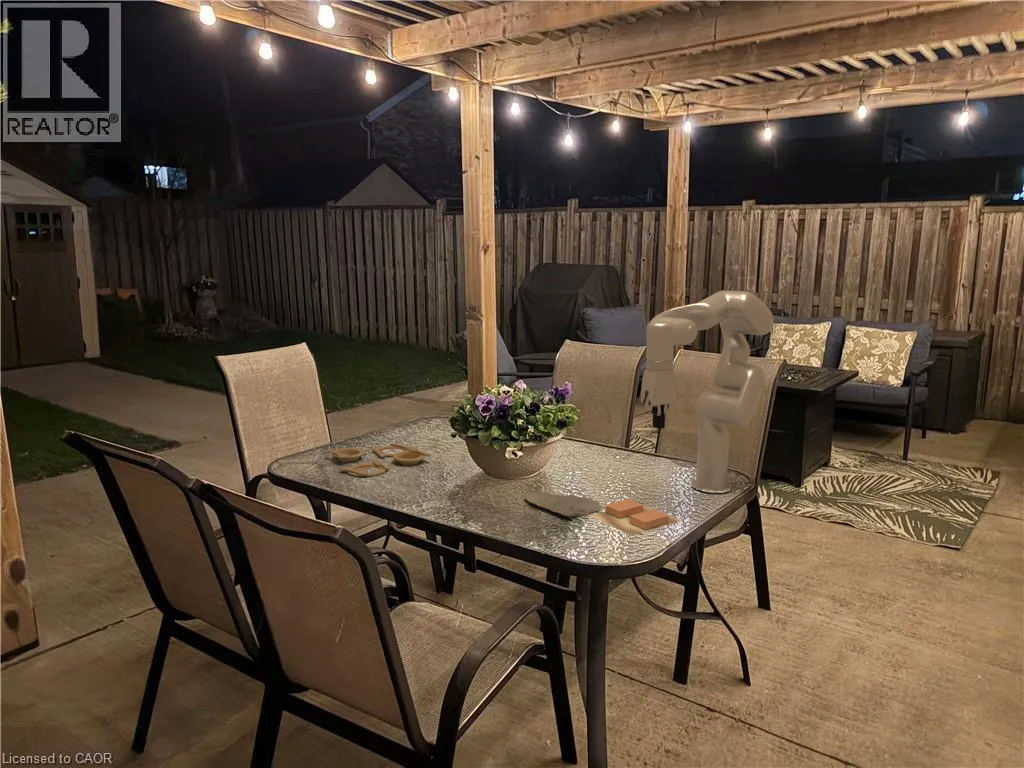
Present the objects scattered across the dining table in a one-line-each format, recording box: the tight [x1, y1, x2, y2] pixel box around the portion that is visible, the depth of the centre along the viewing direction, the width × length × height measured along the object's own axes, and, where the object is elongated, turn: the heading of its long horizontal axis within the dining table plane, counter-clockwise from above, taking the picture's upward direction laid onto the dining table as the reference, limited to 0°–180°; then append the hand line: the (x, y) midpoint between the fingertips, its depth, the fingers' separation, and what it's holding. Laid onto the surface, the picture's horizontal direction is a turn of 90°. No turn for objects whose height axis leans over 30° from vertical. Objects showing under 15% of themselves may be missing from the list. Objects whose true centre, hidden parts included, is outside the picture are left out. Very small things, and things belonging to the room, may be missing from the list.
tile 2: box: [629, 508, 670, 530], centre depth 197 cm, size 2×6×9 cm
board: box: [590, 502, 682, 536], centre depth 202 cm, size 19×17×1 cm
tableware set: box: [326, 442, 432, 478], centre depth 258 cm, size 35×29×4 cm
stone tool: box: [524, 491, 605, 518], centre depth 213 cm, size 20×3×25 cm
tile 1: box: [604, 498, 644, 519], centre depth 206 cm, size 2×6×9 cm
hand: (658, 427), depth 206 cm, fingers closed
